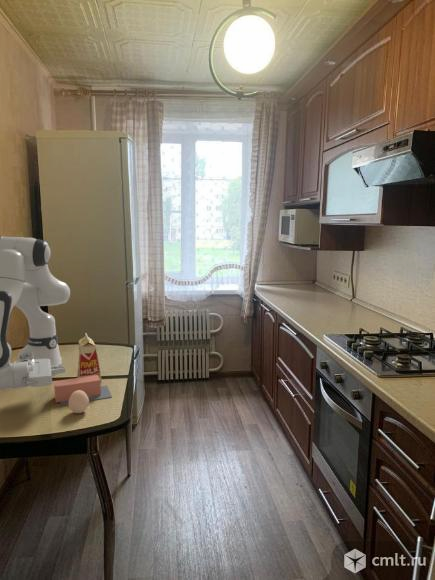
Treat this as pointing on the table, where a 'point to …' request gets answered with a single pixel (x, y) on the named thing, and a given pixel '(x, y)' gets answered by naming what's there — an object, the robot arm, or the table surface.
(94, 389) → the block
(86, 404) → the egg
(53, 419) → the table surface
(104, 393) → the mat
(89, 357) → the milk carton
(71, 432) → the table surface
